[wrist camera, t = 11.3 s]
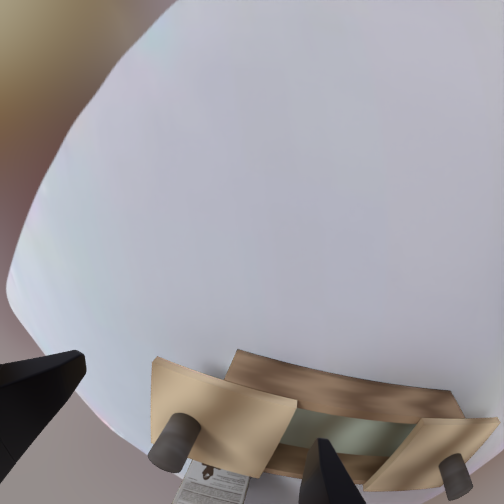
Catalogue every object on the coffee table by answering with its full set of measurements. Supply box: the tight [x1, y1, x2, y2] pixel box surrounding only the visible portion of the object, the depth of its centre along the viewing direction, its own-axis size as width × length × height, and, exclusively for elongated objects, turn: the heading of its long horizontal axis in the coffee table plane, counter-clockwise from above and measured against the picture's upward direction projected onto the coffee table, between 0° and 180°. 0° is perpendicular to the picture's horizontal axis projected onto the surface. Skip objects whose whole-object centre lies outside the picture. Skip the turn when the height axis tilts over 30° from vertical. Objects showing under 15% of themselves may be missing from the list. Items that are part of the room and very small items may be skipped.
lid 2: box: [363, 417, 501, 501], centre depth 14 cm, size 10×10×5 cm
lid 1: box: [148, 356, 297, 479], centre depth 16 cm, size 10×10×5 cm
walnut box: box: [224, 349, 465, 484], centre depth 19 cm, size 20×10×4 cm, turn 76°
